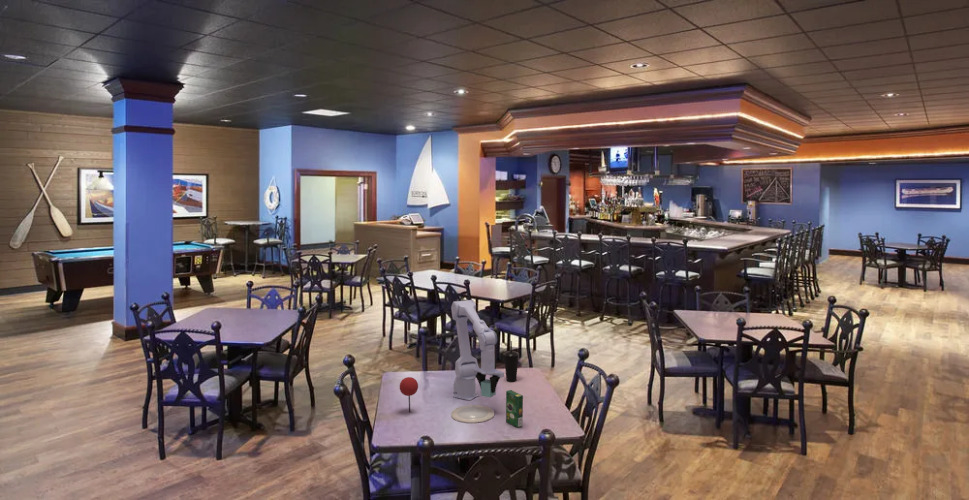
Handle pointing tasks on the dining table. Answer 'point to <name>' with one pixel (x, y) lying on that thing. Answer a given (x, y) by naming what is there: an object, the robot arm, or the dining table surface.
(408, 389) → the lollipop
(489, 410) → the serving plate
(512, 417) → the coffee box
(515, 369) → the drinking cup
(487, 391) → the teal block
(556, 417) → the dining table surface
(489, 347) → the robot arm
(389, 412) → the dining table surface
